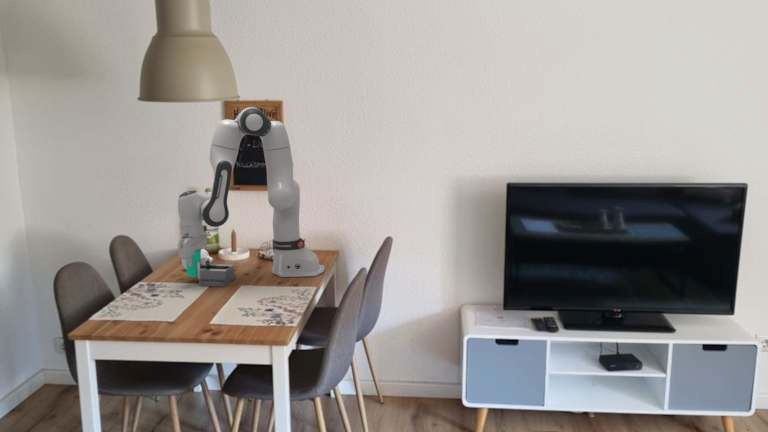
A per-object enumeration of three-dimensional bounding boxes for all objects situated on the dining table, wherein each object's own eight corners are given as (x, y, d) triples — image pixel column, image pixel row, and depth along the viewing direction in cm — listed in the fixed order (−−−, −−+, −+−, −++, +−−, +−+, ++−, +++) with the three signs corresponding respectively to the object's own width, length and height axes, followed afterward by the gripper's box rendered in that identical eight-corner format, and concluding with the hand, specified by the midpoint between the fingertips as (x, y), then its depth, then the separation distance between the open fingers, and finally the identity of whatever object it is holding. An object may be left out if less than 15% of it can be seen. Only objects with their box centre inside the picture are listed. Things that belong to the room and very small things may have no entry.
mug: (182, 270, 323) (180, 253, 321) (194, 264, 332) (192, 247, 331) (206, 272, 320) (205, 254, 318) (218, 266, 329) (216, 248, 327)
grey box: (235, 277, 311) (234, 263, 309) (224, 286, 299) (223, 271, 298) (210, 277, 313) (209, 262, 311) (199, 285, 301) (197, 271, 300)
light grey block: (225, 275, 308) (224, 258, 307) (219, 279, 302) (218, 262, 301) (204, 274, 310) (203, 258, 308) (198, 278, 304) (196, 262, 302)
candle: (203, 272, 310) (202, 244, 307) (199, 277, 304) (197, 248, 301) (189, 272, 310) (188, 244, 308) (184, 276, 305) (183, 248, 302)
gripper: (187, 237, 293) (190, 271, 296) (208, 225, 312) (211, 257, 315) (172, 237, 294) (175, 270, 297) (194, 225, 313) (197, 256, 316)
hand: (194, 263), depth 306 cm, fingers closed on candle, 5 cm apart
